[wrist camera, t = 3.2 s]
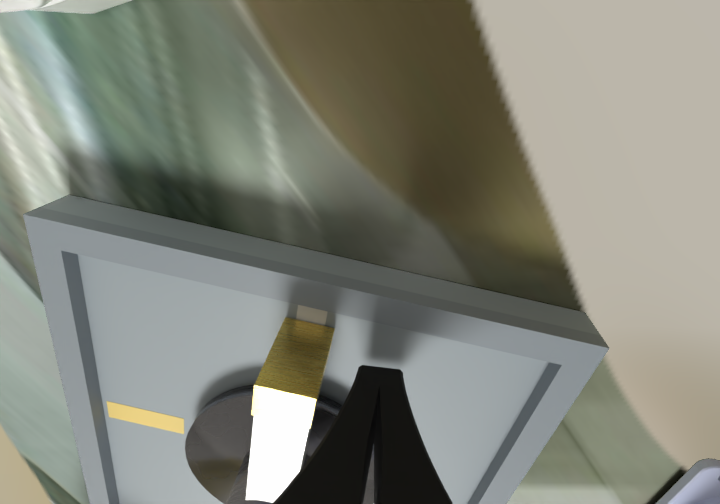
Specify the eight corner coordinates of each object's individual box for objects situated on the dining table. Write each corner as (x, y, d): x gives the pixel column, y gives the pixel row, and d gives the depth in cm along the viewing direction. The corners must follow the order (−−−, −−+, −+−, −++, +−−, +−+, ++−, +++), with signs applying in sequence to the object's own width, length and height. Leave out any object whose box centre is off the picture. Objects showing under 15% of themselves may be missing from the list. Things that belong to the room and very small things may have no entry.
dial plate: (584, 312, 13) (609, 348, 12) (434, 568, 22) (436, 609, 20) (69, 194, 13) (22, 214, 12) (119, 495, 22) (96, 530, 20)
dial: (361, 525, 18) (354, 605, 16) (194, 486, 18) (158, 560, 16) (426, 349, 13) (431, 426, 10) (193, 296, 13) (139, 358, 10)
